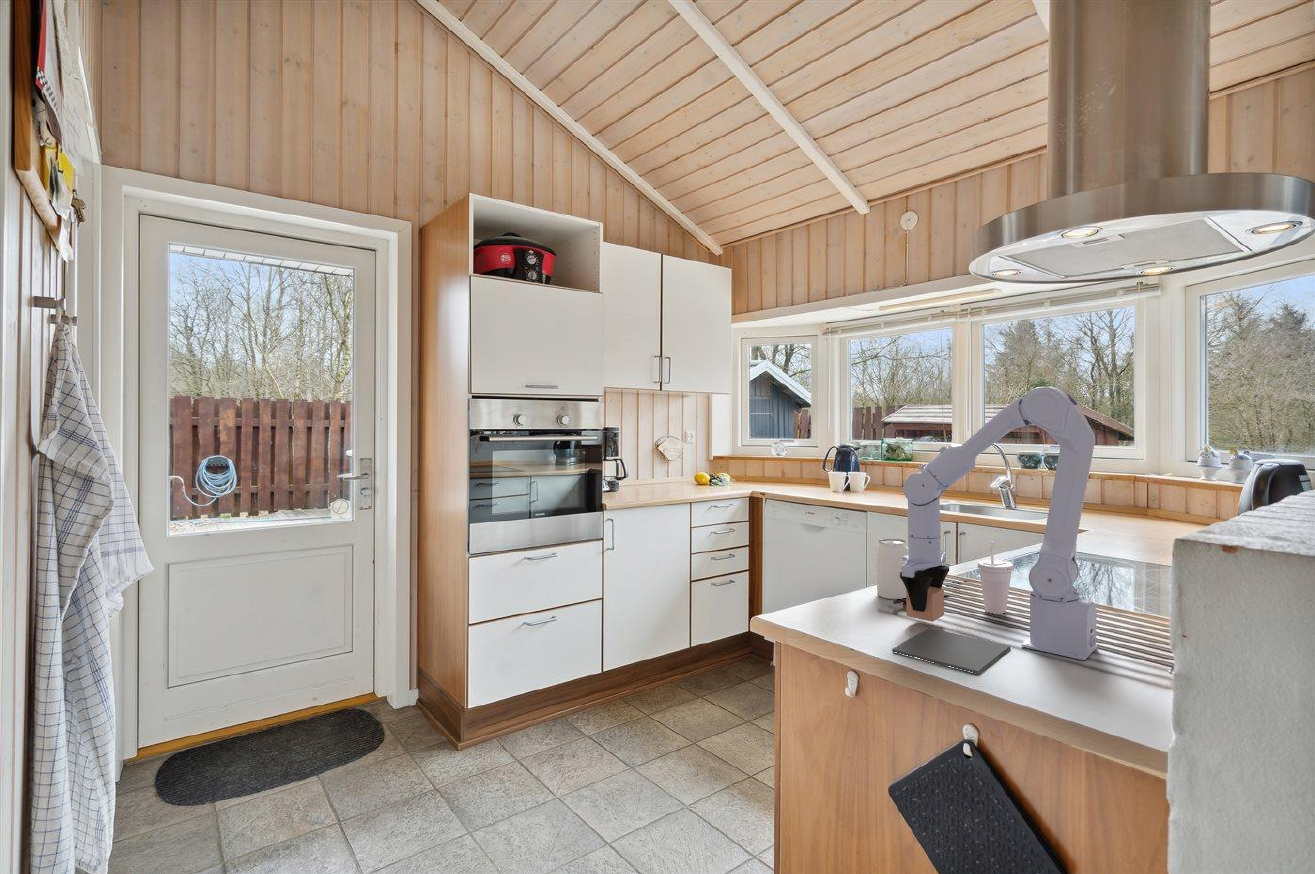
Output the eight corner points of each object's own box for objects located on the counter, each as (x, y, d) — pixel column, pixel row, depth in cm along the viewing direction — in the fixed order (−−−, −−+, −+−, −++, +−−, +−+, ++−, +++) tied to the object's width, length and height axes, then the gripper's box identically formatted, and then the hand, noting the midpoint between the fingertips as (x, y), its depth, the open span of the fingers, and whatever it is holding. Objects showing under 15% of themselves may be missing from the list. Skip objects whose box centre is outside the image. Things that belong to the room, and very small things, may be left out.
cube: (944, 615, 127) (943, 588, 127) (932, 621, 124) (932, 594, 124) (918, 609, 131) (918, 584, 131) (906, 616, 127) (906, 590, 127)
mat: (1010, 649, 114) (1010, 645, 114) (977, 674, 104) (977, 670, 104) (928, 630, 124) (928, 627, 124) (892, 652, 114) (892, 648, 114)
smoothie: (972, 606, 137) (971, 538, 136) (1004, 605, 137) (1004, 537, 136) (986, 616, 130) (985, 545, 130) (1020, 616, 130) (1019, 544, 129)
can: (913, 599, 143) (912, 543, 142) (882, 600, 143) (881, 544, 142) (902, 591, 149) (902, 537, 148) (873, 592, 149) (872, 538, 148)
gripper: (920, 527, 134) (921, 594, 135) (885, 539, 124) (886, 612, 125) (956, 531, 129) (957, 600, 130) (922, 544, 119) (924, 619, 120)
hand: (925, 606), depth 127 cm, fingers closed on cube, 5 cm apart
